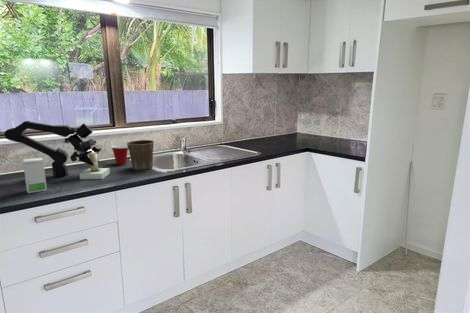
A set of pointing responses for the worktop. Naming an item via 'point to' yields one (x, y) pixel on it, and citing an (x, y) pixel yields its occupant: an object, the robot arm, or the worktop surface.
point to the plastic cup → (120, 154)
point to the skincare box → (34, 175)
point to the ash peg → (94, 161)
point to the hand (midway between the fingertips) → (96, 164)
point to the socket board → (94, 173)
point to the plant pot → (141, 154)
